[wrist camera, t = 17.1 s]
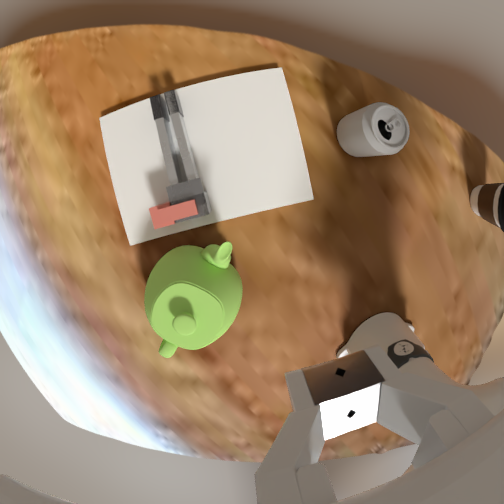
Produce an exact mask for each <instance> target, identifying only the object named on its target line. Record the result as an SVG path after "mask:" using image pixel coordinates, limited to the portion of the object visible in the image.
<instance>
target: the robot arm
mask: <svg viewBox="0 0 504 504" xmlns="http://www.w3.org/2000/svg"><path fill="white" fill-rule="evenodd" d="M336 357H337V359H334V360H331V361H328V362H324V363H320V364H317V365H313V366H309V367H305V368H301V369H299V370H295V371H290V372H286V373H285V378H286V383H287V387H288V392H289V396H290V400H291V405H292V409H293V412H291V413H289V415H288V417H287V419H286V421H285V423H284V424H283V426H282V428H281V430H280V432H279V434H278V436H277V437H276V439H275V441H274V443H273V444H272V446H271V448H270V450H269V451H268V453H267V455H266V457H265V458H264V460H263V462H262V463H261V465H260V467H259V468H258V470H257V472H256V473H255V483H256V494H257V503H258V504H504V377H502V378H498V379H495V380H493V381H491V382H488V383H485V384H482V385H476V386H469V385H463V384H460V383H457V382H455V381H454V380H452V379H451V378H450V377H448V376H447V375H446V374H445V373H444V372H443V371H442V370H441V369H439V368H438V367H437V366H436V365H435V364H434V361H433V358H432V357H431V356H430V354H429V353H428V352H427V351H426V350H425V347H424V345H423V343H422V342H421V341H420V340H419V338H418V337H417V336H416V335H415V333H414V327H413V326H412V325H411V324H409V323H405V322H404V321H403V320H402V319H401V317H400V316H398V315H397V314H394V313H389V312H386V313H380V314H377V315H375V316H372V317H371V318H369V319H367V320H366V321H364V322H363V323H362V324H361V325H360V326H359V327H358V328H357V329H356V330H355V331H354V333H353V334H352V336H351V338H350V339H349V341H348V343H347V344H346V345H345V346H344V347H343V348H341V349H340V350H339V351H338V353H337V355H336ZM374 422H377V423H379V424H380V425H382V426H384V427H386V428H388V429H389V430H391V431H393V432H395V433H397V434H399V435H400V436H402V437H404V438H406V439H408V440H410V441H412V442H414V443H416V444H418V445H419V447H418V450H417V452H416V454H415V456H414V459H413V461H412V465H411V466H410V467H409V468H408V469H407V470H406V471H405V472H404V474H403V475H402V476H401V477H398V478H396V479H394V480H392V481H389V482H387V483H385V484H383V485H380V486H378V487H375V488H373V489H370V490H368V491H365V492H363V493H360V494H357V495H354V496H351V497H348V498H345V499H342V500H339V501H337V499H336V496H335V493H334V490H333V487H332V484H331V481H330V478H329V475H328V472H327V469H326V466H325V465H324V464H321V463H317V462H318V459H319V457H320V454H321V451H322V448H323V445H324V442H325V440H326V439H329V438H332V437H335V436H338V435H340V434H343V433H346V432H349V431H351V430H354V429H357V428H360V427H363V426H366V425H369V424H371V423H374ZM0 504H77V503H74V502H71V501H68V500H64V499H62V498H59V497H56V496H53V495H51V494H48V493H45V492H43V491H40V490H37V489H35V488H33V487H31V486H28V485H26V484H23V483H22V482H20V481H18V480H16V479H14V478H12V477H9V476H7V475H0Z"/></svg>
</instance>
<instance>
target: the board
mask: <svg viewBox="0 0 504 504" xmlns="http://www.w3.org/2000/svg"><path fill="white" fill-rule="evenodd" d="M175 92H176V93H177V95H178V96H179V100H180V103H181V107H182V111H183V115H184V117H183V119H184V123H185V127H186V130H187V134H188V138H189V142H190V145H191V149H192V153H193V156H194V160H195V163H196V167H197V171H198V174H199V178H201V182H202V186H203V190H204V191H207V193H208V197H209V201H210V205H211V209H212V211H211V212H210V214H209V215H205V216H201V217H197V218H193V219H190V220H186V221H182V222H178V223H175V224H173V225H169V226H165V227H162V228H158V229H154V226H153V222H152V219H151V215H150V212H149V208H151V207H153V206H156V205H158V204H162V203H165V202H168V201H169V197H168V193H167V189H166V187H168V186H170V182H169V178H168V174H167V170H166V166H165V162H164V158H163V153H162V149H161V145H160V140H159V136H158V131H157V126H156V122H155V120H154V117H153V112H152V107H151V102H150V98H148V99H145V100H143V101H140V102H137V103H135V104H132V105H129V106H127V107H124V108H122V109H119V110H117V111H114V112H112V113H110V114H107V115H105V116H103V117H101V118H100V124H101V130H102V135H103V141H104V146H105V151H106V156H107V161H108V165H109V170H110V174H111V178H112V182H113V187H114V191H115V194H116V198H117V202H118V206H119V209H120V213H121V217H122V220H123V224H124V227H125V230H126V234H127V237H128V240H129V243H130V246H131V245H134V244H138V243H141V242H145V241H148V240H152V239H155V238H159V237H163V236H166V235H170V234H174V233H177V232H181V231H185V230H189V229H192V228H196V227H200V226H204V225H208V224H212V223H216V222H220V221H223V220H227V219H231V218H236V217H240V216H244V215H248V214H252V213H256V212H260V211H265V210H269V209H273V208H278V207H282V206H286V205H291V204H295V203H300V202H304V201H309V200H313V199H314V198H313V193H312V188H311V183H310V178H309V173H308V169H307V164H306V159H305V155H304V151H303V146H302V142H301V138H300V134H299V130H298V125H297V121H296V118H295V114H294V110H293V106H292V102H291V99H290V95H289V91H288V88H287V84H286V81H285V77H284V74H283V70H282V67H281V68H274V69H266V70H260V71H254V72H248V73H242V74H237V75H232V76H227V77H222V78H218V79H214V80H209V81H205V82H201V83H197V84H194V85H190V86H186V87H183V88H179V89H176V90H175ZM160 95H161V96H162V98H163V99H164V100H165V96H164V93H163V94H160ZM165 101H166V100H165ZM166 106H167V104H166ZM167 110H168V108H167ZM168 115H169V112H168ZM169 120H170V122H169V124H170V129H171V133H172V138H173V142H174V146H175V150H176V155H177V159H178V163H179V167H180V171H181V175H182V179H183V182H185V181H188V179H187V175H186V172H185V168H184V165H183V161H182V157H181V154H180V150H179V146H178V143H177V139H176V135H175V131H174V127H173V124H172V120H171V116H170V115H169Z"/></svg>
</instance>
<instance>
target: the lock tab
mask: <svg viewBox="0 0 504 504" xmlns="http://www.w3.org/2000/svg"><path fill="white" fill-rule="evenodd" d="M149 212H150V215H151V219H152V222H153V226H154V229H158V228H162V227H165V226H169V225H173V224H175V220H178V219H182V218H186V217H189V216H193V215H197V214H199V213H198V209H197V206H196V202H195V199H193V200H190V201H186V202H182V203H179V204H175V205H172V206H171V205H170V201H168V202H165V203H162V204H158V205H156V206H153V207H151V208H149Z"/></svg>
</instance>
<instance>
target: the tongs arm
mask: <svg viewBox="0 0 504 504" xmlns="http://www.w3.org/2000/svg"><path fill="white" fill-rule="evenodd" d="M164 96H165V100H166V104H167V108H168V112H169V115H170V116H171V120H172V124H173V127H174V131H175V135H176V139H177V143H178V146H179V150H180V154H181V157H182V161H183V165H184V168H185V172H186V175H187V179H188V181H189V180H193V179H196V178H199V174H198V171H197V167H196V163H195V160H194V156H193V153H192V149H191V145H190V142H189V138H188V134H187V130H186V127H185V123H184V119H183V117H184V115H183V111H182V107H181V103H180V100H179V96H178V95H177V93H176V92H175V90H171V91H168V92H165V93H164Z"/></svg>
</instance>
